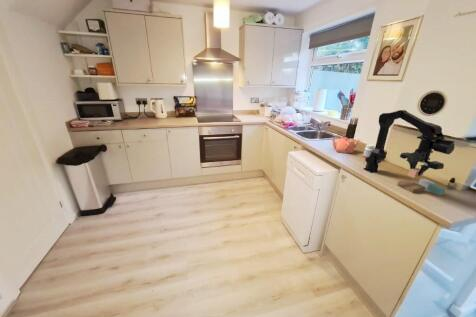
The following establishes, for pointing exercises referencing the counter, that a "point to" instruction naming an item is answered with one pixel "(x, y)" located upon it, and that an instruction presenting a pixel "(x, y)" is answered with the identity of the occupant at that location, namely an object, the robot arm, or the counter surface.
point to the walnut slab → (411, 186)
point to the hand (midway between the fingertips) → (415, 174)
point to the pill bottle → (368, 150)
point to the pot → (344, 145)
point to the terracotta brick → (414, 173)
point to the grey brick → (425, 182)
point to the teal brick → (436, 189)
